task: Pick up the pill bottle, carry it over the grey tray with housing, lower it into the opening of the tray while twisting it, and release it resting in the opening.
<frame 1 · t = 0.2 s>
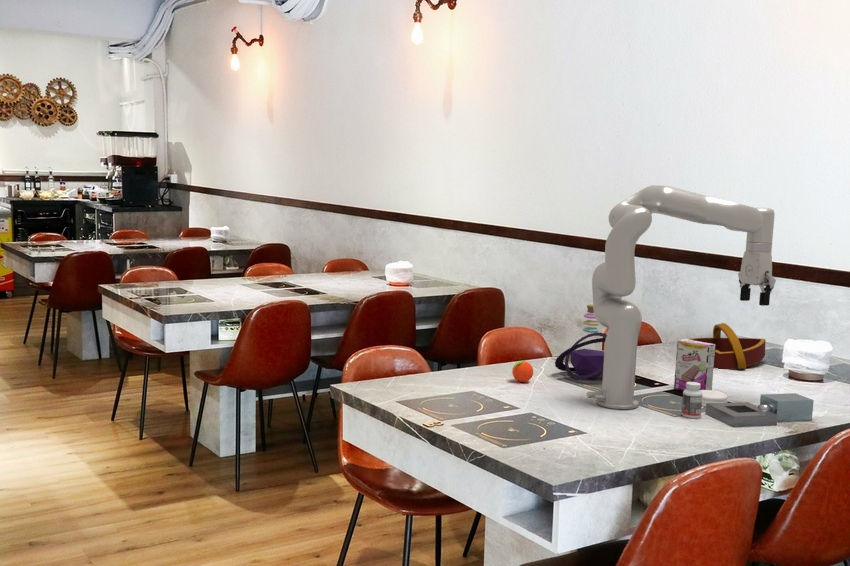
hand: (754, 302, 276), 31 cm above the table, tool pointing down, fingers open, 9 cm apart
grey tray with housing: (740, 419, 257), on the table
coaster: (710, 405, 273), on the table
decorative bottle: (588, 377, 304), on the table
clementine: (521, 382, 293), on the table
decorative basket: (725, 362, 339), on the table
candy bar box: (692, 392, 288), on the table
pill bottle: (691, 416, 258), on the table
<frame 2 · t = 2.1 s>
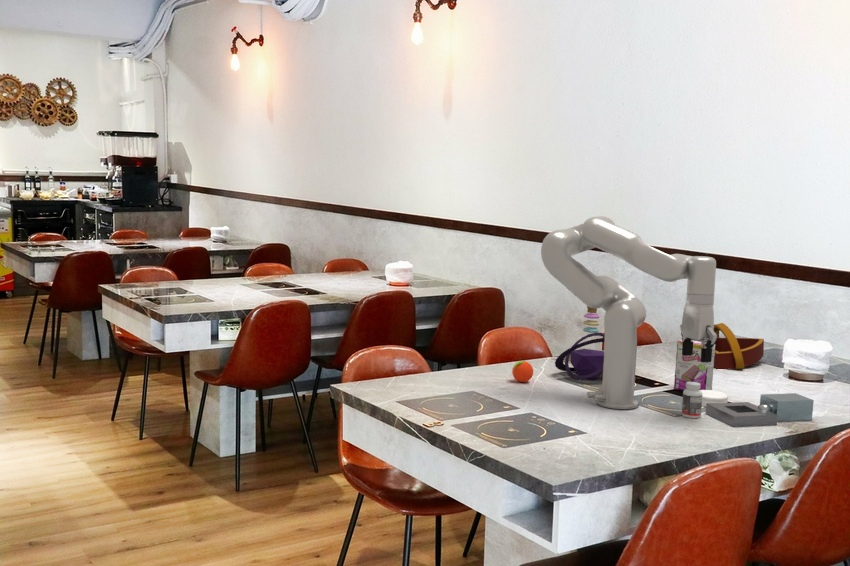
hand: (696, 358, 256), 17 cm above the table, tool pointing down, fingers open, 9 cm apart
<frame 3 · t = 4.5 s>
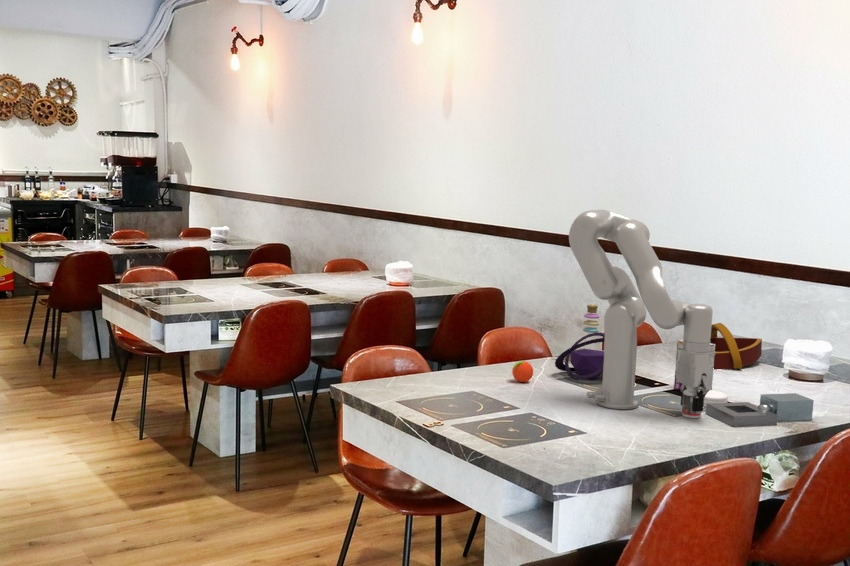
hand: (691, 407, 258), 2 cm above the table, tool pointing down, fingers closed on pill bottle, 5 cm apart
pill bottle: (691, 416, 258), on the table, touching gripper
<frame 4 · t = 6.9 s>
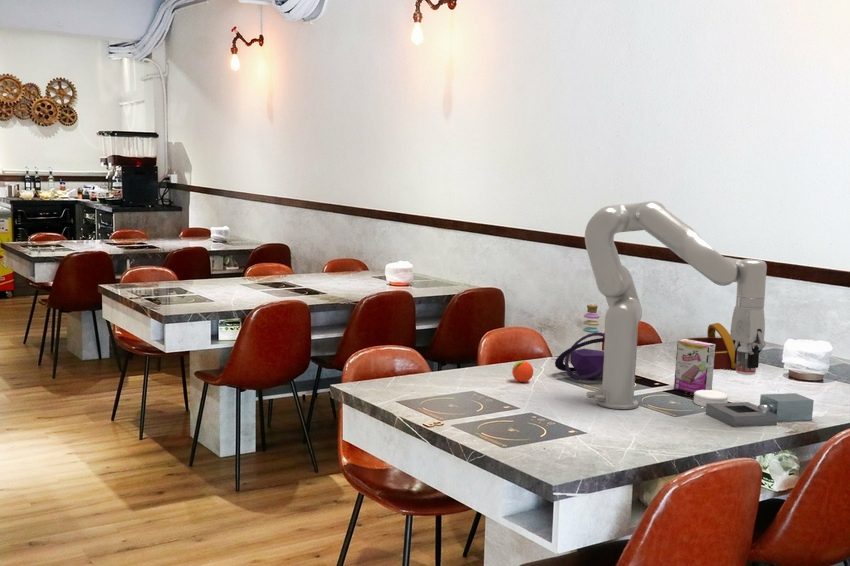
hand: (746, 364, 255), 16 cm above the table, tool pointing down, fingers closed on pill bottle, 5 cm apart
pill bottle: (745, 374, 255), point 13 cm above the table, touching gripper
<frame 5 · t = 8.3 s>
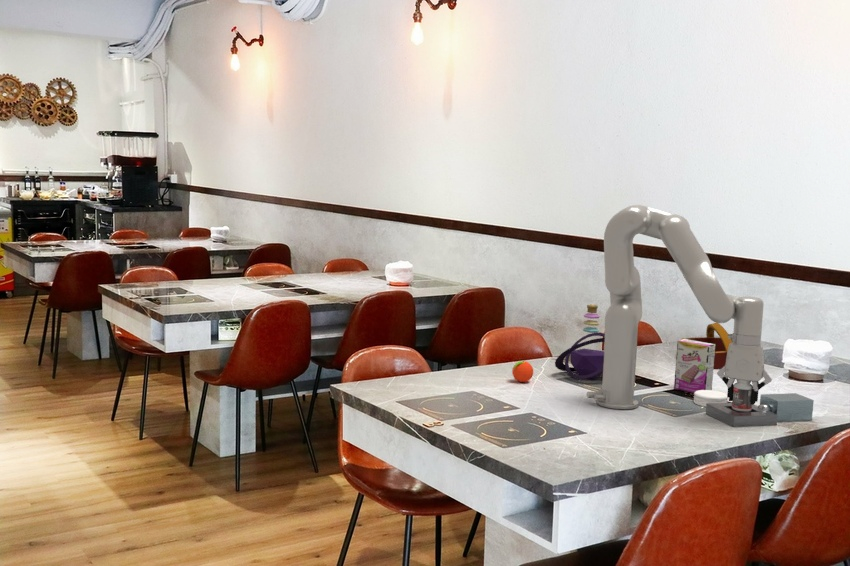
hand: (742, 401, 256), 5 cm above the table, tool pointing down, fingers closed on pill bottle, 5 cm apart
pill bottle: (741, 410, 256), point 3 cm above the table, touching gripper
when the fingers open (4 cm above the table, at t = 9.3 s): pill bottle drops 2 cm, resting in grey tray with housing.
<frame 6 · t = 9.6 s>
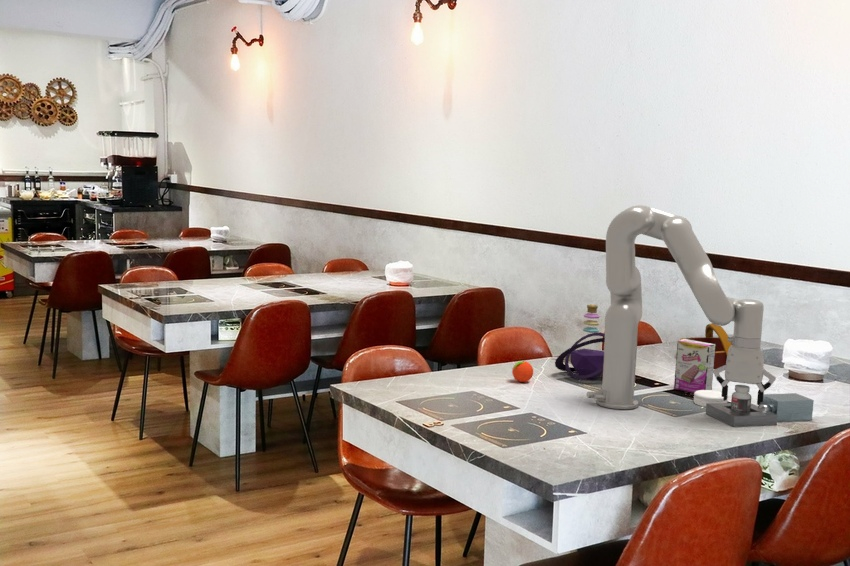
hand: (741, 401, 256), 5 cm above the table, tool pointing down, fingers open, 8 cm apart
pill bottle: (739, 419, 257), resting in grey tray with housing
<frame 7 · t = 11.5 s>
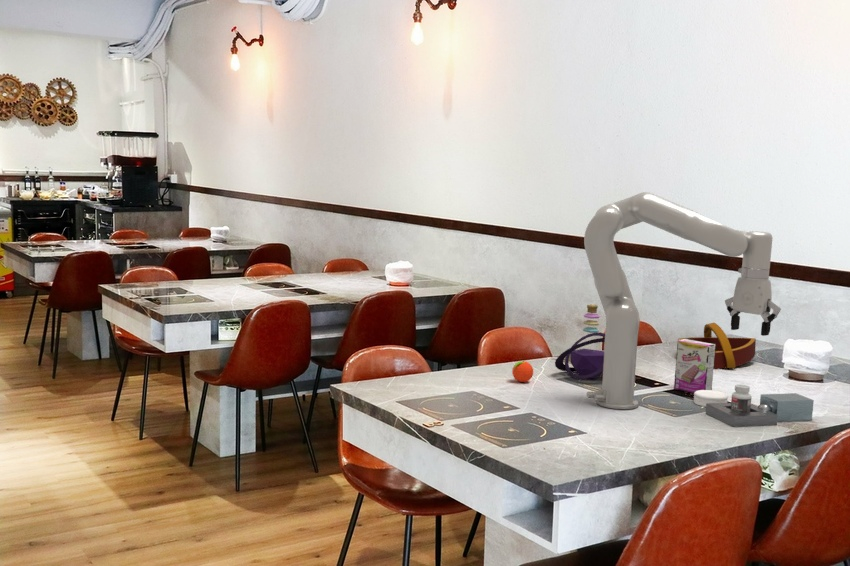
hand: (749, 332, 259), 24 cm above the table, tool pointing down, fingers open, 9 cm apart
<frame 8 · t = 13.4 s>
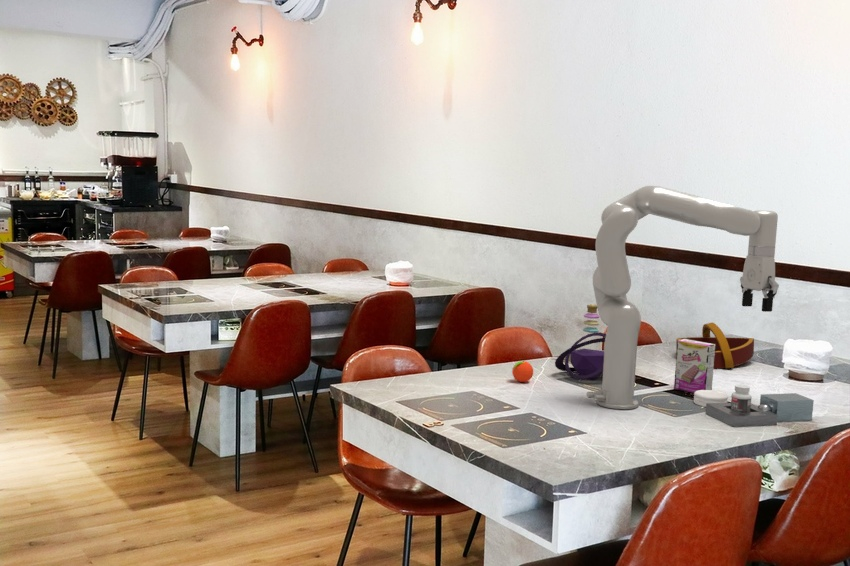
hand: (756, 308, 267), 30 cm above the table, tool pointing down, fingers open, 9 cm apart
at the end: pill bottle 0.1 cm off-centre on the grey tray with housing, point 0.0 cm above the grey tray with housing's base; pill bottle tilted 0°; the gripper is holding nothing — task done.
